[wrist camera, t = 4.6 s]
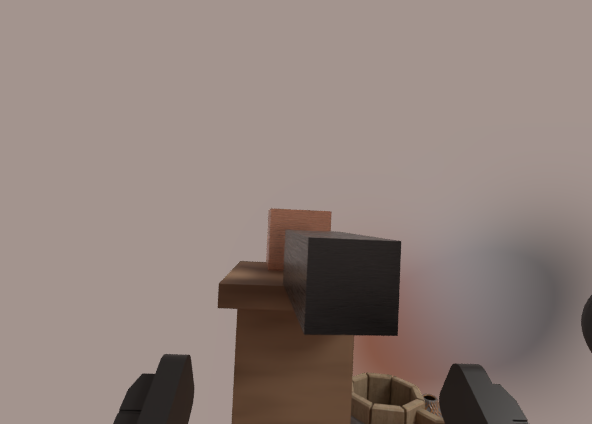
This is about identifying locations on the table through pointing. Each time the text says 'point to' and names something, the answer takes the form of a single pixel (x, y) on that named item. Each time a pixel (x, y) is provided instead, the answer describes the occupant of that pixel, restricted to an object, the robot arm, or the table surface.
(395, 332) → the orange and black bar
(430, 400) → the vase
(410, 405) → the tankard
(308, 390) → the walnut stand
